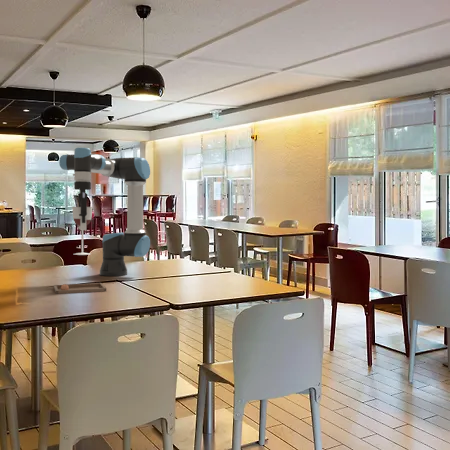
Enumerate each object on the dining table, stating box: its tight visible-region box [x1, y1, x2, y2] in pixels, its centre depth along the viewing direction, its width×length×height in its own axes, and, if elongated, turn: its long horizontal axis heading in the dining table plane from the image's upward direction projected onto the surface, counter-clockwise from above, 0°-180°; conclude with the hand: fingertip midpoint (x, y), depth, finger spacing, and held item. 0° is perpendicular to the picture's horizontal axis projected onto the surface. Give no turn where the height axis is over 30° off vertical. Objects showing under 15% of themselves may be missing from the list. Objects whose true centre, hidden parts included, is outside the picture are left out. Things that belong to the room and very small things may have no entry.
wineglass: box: [71, 206, 93, 256], centre depth 268 cm, size 9×10×22 cm
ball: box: [61, 283, 69, 290], centre depth 259 cm, size 4×4×4 cm
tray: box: [53, 282, 107, 295], centre depth 265 cm, size 22×16×2 cm
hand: (82, 229), depth 268 cm, fingers closed on wineglass, 9 cm apart
